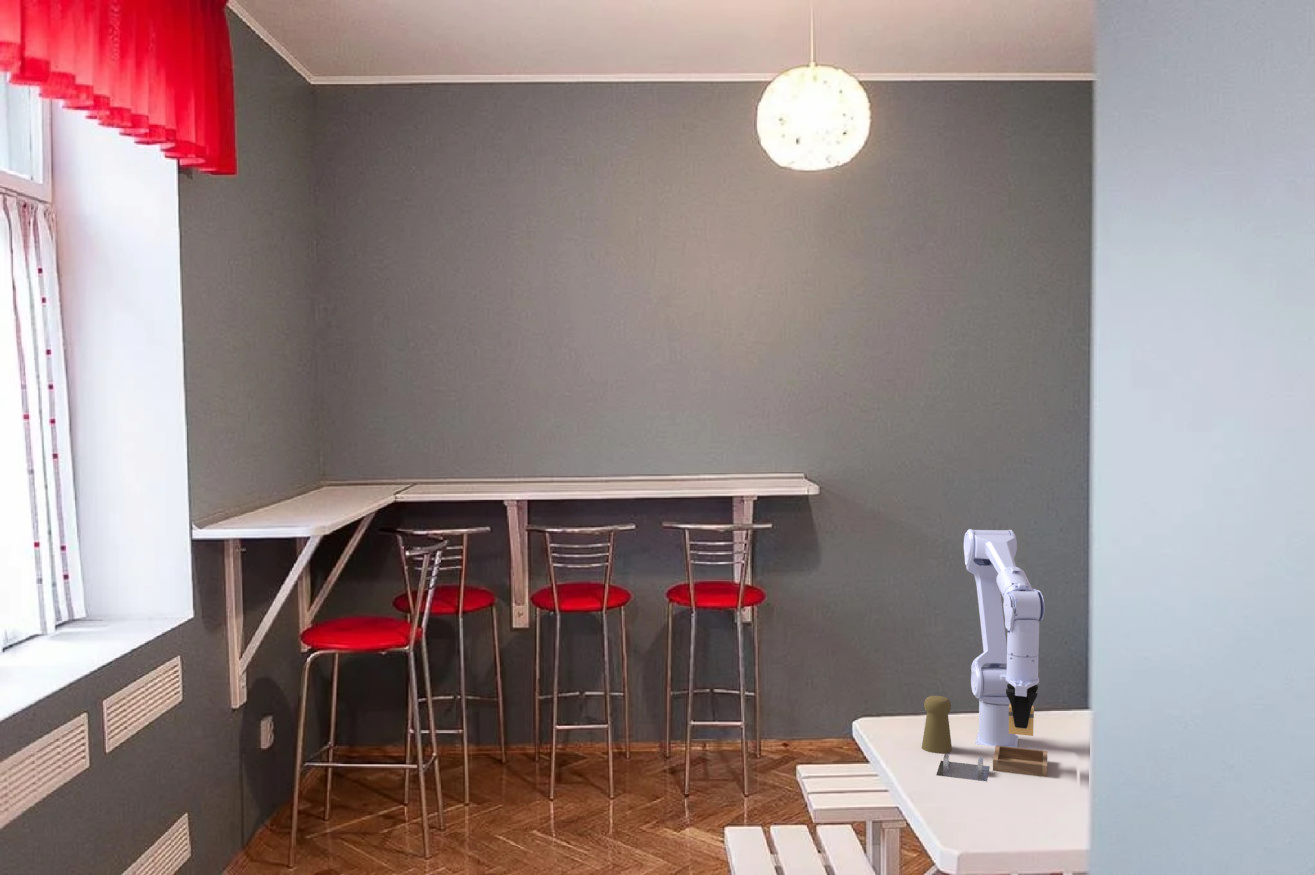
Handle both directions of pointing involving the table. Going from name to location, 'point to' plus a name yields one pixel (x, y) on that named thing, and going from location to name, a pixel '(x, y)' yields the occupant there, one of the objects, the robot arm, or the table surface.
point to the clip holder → (963, 769)
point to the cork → (937, 725)
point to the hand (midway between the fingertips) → (1021, 725)
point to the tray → (1020, 761)
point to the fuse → (1021, 731)
